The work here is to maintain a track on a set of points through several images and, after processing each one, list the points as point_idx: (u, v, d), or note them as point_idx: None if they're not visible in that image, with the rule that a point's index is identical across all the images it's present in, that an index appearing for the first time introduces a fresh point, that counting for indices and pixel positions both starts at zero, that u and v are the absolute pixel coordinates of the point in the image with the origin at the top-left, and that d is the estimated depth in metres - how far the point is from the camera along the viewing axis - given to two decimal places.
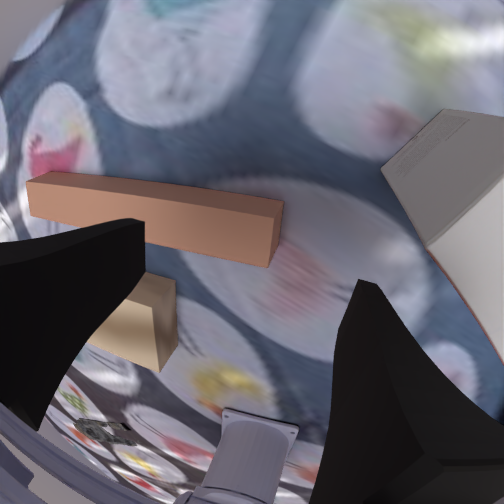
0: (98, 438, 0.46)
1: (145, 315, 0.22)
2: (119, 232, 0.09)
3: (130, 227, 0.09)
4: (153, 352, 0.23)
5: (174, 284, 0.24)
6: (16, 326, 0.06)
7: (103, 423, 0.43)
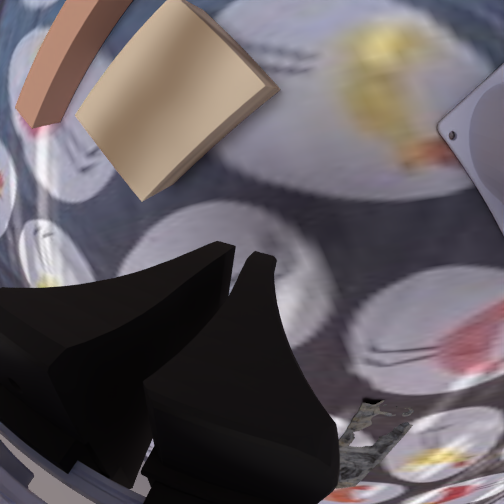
0: (360, 471, 0.28)
1: (174, 12, 0.12)
2: (218, 261, 0.08)
3: (226, 254, 0.09)
4: (226, 53, 0.12)
5: (204, 12, 0.14)
6: (128, 391, 0.05)
7: (345, 436, 0.27)
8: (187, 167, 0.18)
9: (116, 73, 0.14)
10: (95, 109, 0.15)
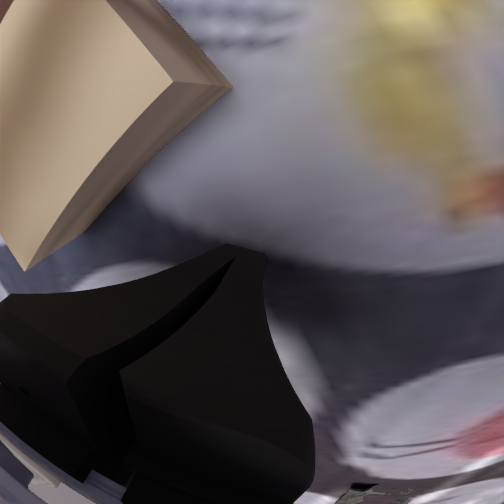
0: None
1: None
2: (229, 264, 0.08)
3: None
4: (108, 23, 0.05)
5: None
6: None
7: None
8: (91, 215, 0.11)
9: None
10: None
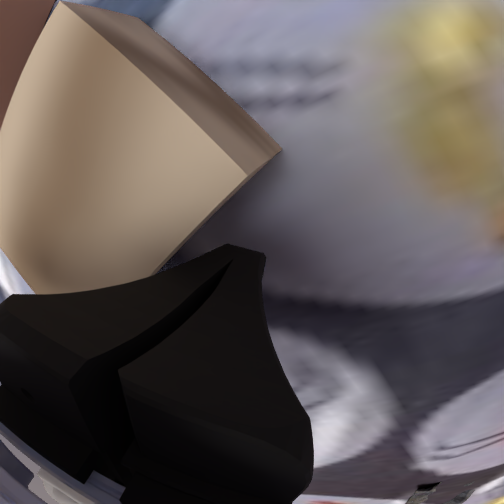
0: None
1: (61, 33, 0.05)
2: None
3: None
4: (155, 105, 0.06)
5: (138, 20, 0.08)
6: None
7: None
8: None
9: (4, 157, 0.08)
10: None
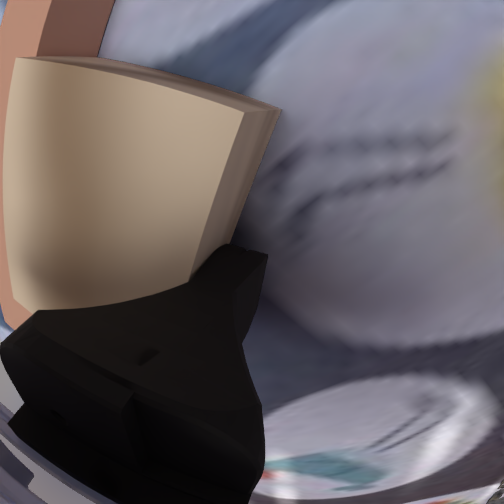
0: None
1: (27, 82, 0.06)
2: (256, 271, 0.08)
3: (262, 264, 0.09)
4: (130, 93, 0.05)
5: (98, 58, 0.09)
6: None
7: (497, 493, 0.15)
8: None
9: (14, 223, 0.08)
10: (25, 284, 0.09)
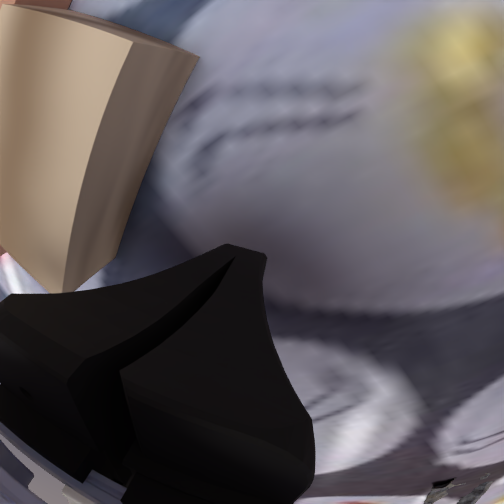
0: None
1: (6, 22, 0.06)
2: (229, 264, 0.08)
3: None
4: (66, 31, 0.06)
5: (71, 10, 0.08)
6: None
7: None
8: (114, 229, 0.11)
9: None
10: None
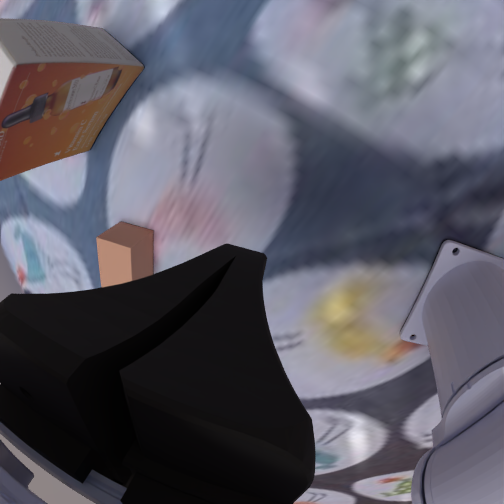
0: None
1: None
2: (229, 264, 0.08)
3: None
4: None
5: None
6: None
7: None
8: None
9: None
10: None
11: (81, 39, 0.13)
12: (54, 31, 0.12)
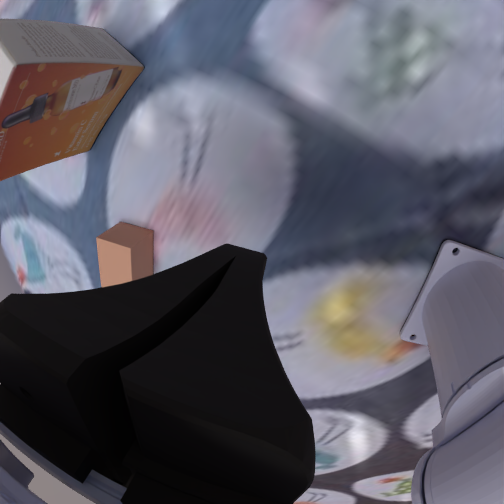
0: None
1: None
2: (229, 264, 0.08)
3: None
4: None
5: None
6: None
7: None
8: None
9: None
10: None
11: (81, 40, 0.13)
12: (54, 31, 0.12)
